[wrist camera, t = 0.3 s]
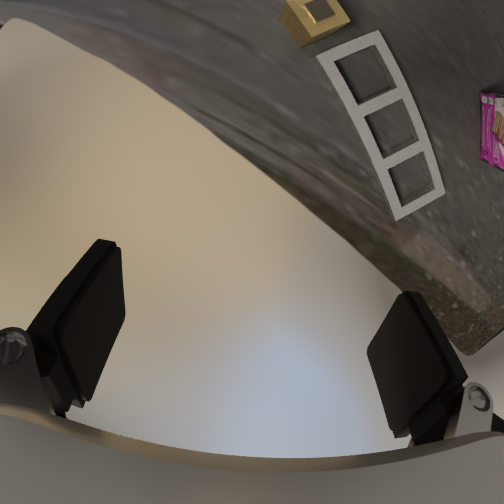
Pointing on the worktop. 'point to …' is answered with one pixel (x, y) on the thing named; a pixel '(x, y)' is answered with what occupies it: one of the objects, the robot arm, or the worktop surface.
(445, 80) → the worktop surface
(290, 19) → the tan hollow block
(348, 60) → the worktop surface
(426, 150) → the white rectangular frame
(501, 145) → the candy bar box
